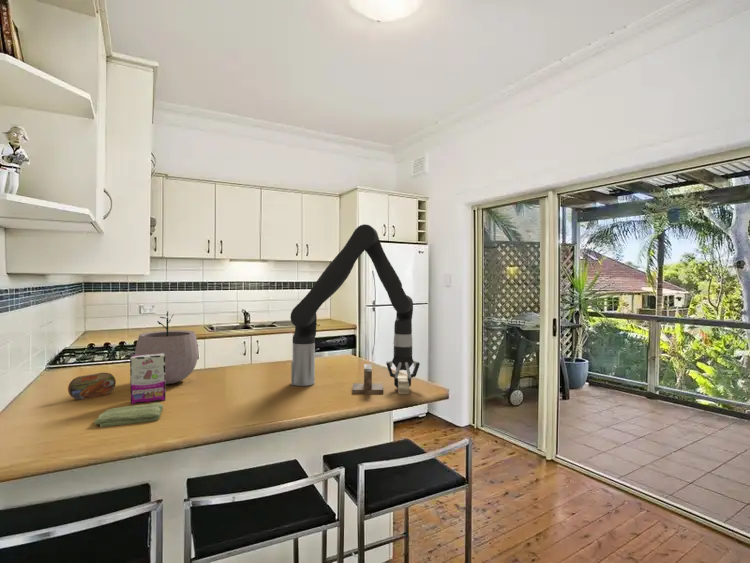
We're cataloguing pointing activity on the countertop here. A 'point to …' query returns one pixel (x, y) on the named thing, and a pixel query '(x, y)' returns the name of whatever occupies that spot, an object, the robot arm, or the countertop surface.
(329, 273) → the robot arm
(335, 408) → the countertop surface
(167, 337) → the plant pot
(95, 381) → the tin
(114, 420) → the washcloth
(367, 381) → the balance stand
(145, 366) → the candy bar box
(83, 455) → the countertop surface
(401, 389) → the pale gold metallic bar
